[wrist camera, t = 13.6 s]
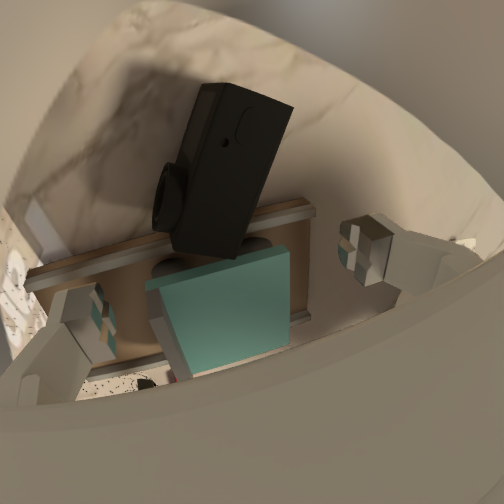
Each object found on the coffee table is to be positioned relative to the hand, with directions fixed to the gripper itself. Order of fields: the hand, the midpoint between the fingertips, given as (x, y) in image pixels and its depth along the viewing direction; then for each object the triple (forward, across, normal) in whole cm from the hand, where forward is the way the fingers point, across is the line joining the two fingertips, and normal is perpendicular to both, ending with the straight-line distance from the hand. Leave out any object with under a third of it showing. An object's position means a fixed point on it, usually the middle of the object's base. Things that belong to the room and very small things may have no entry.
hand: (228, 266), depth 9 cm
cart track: (+15, +3, +13) cm, 20 cm away
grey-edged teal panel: (+14, -1, +13) cm, 19 cm away
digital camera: (+15, -2, 0) cm, 16 cm away
